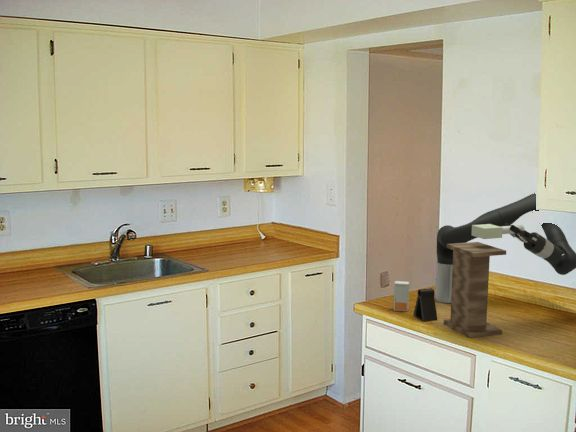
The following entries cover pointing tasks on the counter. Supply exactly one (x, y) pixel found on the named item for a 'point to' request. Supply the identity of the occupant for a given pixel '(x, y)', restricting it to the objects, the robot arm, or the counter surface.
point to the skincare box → (401, 296)
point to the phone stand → (425, 305)
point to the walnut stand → (471, 288)
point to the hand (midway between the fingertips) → (508, 226)
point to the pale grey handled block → (491, 231)
